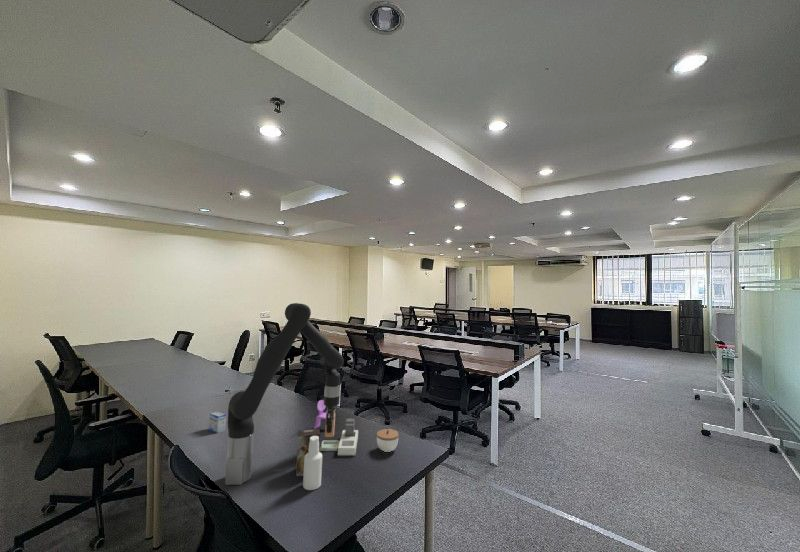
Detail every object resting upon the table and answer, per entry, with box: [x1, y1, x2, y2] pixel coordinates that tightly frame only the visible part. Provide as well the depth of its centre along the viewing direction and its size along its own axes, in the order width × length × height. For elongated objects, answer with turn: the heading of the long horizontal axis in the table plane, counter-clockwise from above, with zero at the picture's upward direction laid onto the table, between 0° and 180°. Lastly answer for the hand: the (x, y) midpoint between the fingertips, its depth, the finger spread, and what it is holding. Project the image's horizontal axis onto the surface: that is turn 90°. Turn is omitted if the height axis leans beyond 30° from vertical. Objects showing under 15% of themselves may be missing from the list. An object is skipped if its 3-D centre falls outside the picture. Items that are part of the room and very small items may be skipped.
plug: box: [324, 412, 336, 438], centre depth 155 cm, size 4×4×10 cm
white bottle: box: [302, 436, 323, 491], centre depth 124 cm, size 7×7×18 cm
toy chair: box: [313, 399, 327, 429], centre depth 177 cm, size 8×9×15 cm
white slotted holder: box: [337, 418, 359, 457], centre depth 156 cm, size 20×8×11 cm, turn 4°
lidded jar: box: [376, 428, 400, 453], centre depth 154 cm, size 11×11×9 cm
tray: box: [320, 439, 340, 452], centre depth 154 cm, size 8×8×2 cm
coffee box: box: [296, 428, 321, 477], centre depth 133 cm, size 9×6×16 cm
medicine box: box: [208, 411, 227, 434], centre depth 170 cm, size 8×4×9 cm, turn 62°
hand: (329, 430), depth 155 cm, fingers closed on plug, 4 cm apart
